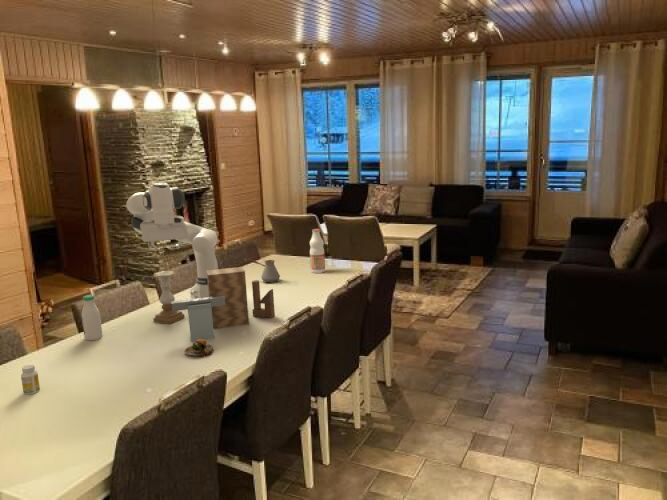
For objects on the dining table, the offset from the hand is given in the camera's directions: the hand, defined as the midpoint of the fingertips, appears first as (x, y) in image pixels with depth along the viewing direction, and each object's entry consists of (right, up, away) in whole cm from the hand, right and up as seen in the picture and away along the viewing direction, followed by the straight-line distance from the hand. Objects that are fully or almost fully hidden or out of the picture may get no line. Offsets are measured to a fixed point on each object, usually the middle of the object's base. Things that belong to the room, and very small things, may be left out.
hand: (167, 249), depth 256 cm
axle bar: (+15, -26, -3) cm, 30 cm away
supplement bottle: (-34, -52, -50) cm, 80 cm away
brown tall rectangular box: (+25, -36, +16) cm, 47 cm away
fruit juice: (+65, -15, +113) cm, 131 cm away
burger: (+19, -44, -20) cm, 52 cm away
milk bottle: (-35, -41, +4) cm, 54 cm away
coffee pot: (+32, -20, +94) cm, 101 cm away
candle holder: (-7, -35, +26) cm, 44 cm away
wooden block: (+41, -33, +25) cm, 58 cm away
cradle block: (+16, -39, -1) cm, 42 cm away
